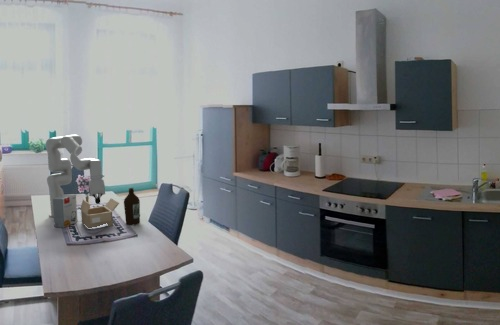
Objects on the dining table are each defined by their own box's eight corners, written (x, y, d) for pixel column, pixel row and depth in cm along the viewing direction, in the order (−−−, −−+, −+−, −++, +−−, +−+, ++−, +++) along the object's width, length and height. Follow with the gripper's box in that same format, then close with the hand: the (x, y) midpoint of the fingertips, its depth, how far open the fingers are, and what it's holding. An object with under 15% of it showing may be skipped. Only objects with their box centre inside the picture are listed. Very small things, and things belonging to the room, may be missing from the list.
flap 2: (111, 198, 292) (112, 198, 292) (104, 205, 290) (105, 206, 290) (118, 202, 278) (119, 203, 279) (111, 210, 276) (112, 211, 277)
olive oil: (121, 224, 280) (119, 189, 276) (132, 220, 289) (130, 186, 286) (133, 226, 275) (131, 190, 272) (143, 222, 285) (142, 187, 281)
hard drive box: (64, 228, 273) (61, 199, 270) (54, 227, 274) (51, 198, 271) (78, 221, 288) (76, 194, 285) (68, 221, 289) (66, 193, 286)
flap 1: (81, 209, 280) (80, 209, 280) (84, 199, 281) (83, 199, 280) (87, 214, 267) (86, 214, 267) (90, 204, 267) (89, 204, 267)
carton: (81, 223, 283) (80, 209, 282) (105, 219, 292) (104, 206, 291) (88, 230, 267) (87, 215, 266) (113, 225, 277) (112, 211, 275)
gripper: (105, 175, 283) (107, 200, 286) (83, 177, 274) (85, 204, 277) (108, 176, 277) (110, 202, 280) (86, 179, 268) (88, 206, 271)
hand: (97, 203), depth 278 cm, fingers closed
